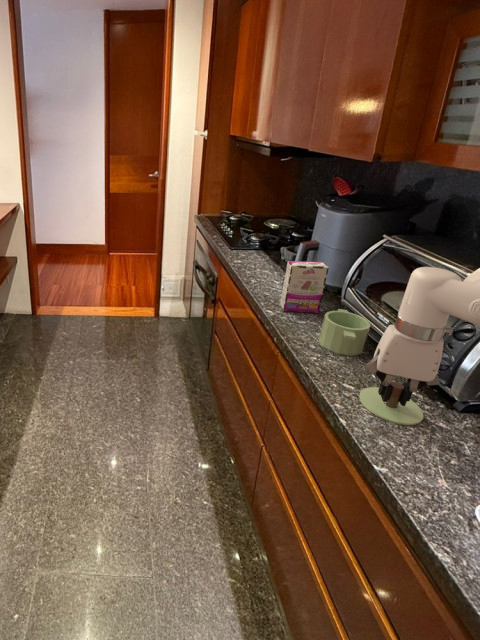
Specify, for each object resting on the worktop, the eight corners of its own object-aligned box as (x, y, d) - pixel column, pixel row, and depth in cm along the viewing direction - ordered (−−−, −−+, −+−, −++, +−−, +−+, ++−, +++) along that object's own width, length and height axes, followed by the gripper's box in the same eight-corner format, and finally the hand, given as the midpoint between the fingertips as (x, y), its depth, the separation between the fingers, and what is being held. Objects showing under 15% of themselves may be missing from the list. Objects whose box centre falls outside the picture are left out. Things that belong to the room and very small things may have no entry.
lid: (413, 399, 89) (422, 376, 86) (429, 434, 79) (439, 410, 77) (354, 385, 93) (361, 364, 91) (362, 417, 83) (370, 394, 81)
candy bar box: (313, 306, 131) (324, 261, 125) (318, 313, 126) (330, 267, 120) (278, 304, 133) (287, 259, 127) (282, 311, 128) (292, 265, 122)
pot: (357, 336, 114) (364, 310, 110) (367, 366, 100) (375, 338, 97) (316, 328, 118) (322, 304, 114) (320, 356, 104) (327, 329, 101)
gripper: (461, 327, 78) (432, 399, 85) (367, 311, 84) (347, 380, 91) (477, 345, 72) (443, 422, 79) (374, 327, 78) (351, 400, 85)
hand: (392, 399), depth 85 cm, fingers closed on lid, 2 cm apart
